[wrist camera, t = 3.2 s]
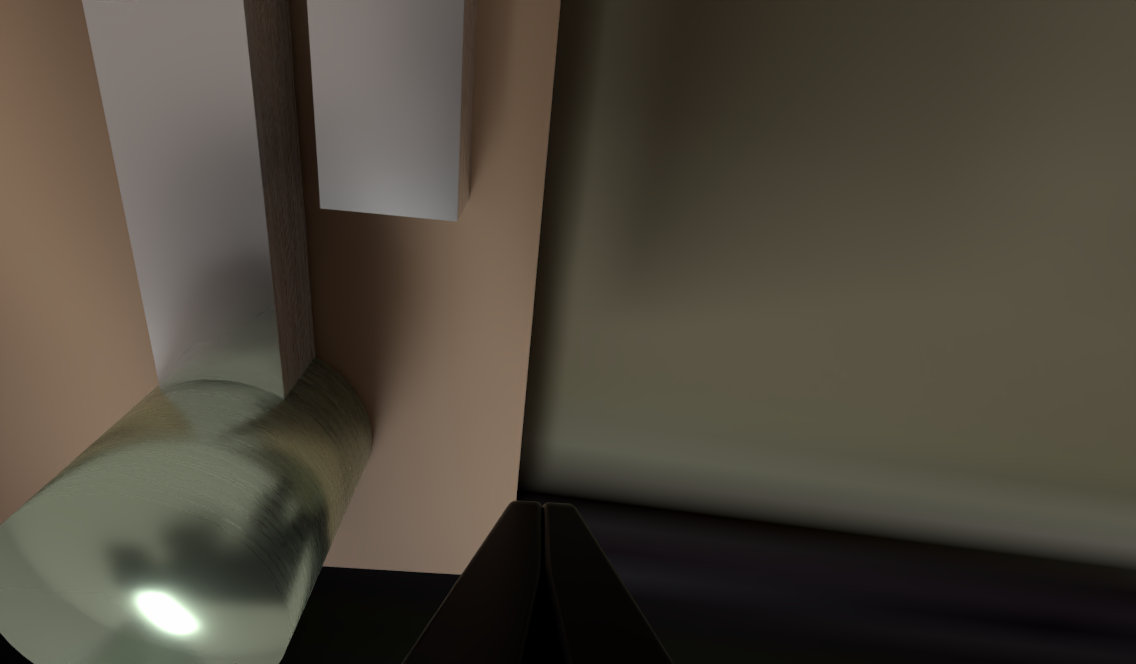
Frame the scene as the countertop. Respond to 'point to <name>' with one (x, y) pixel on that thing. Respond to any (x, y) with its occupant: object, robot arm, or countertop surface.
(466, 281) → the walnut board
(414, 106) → the base
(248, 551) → the tong arm
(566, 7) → the countertop surface
